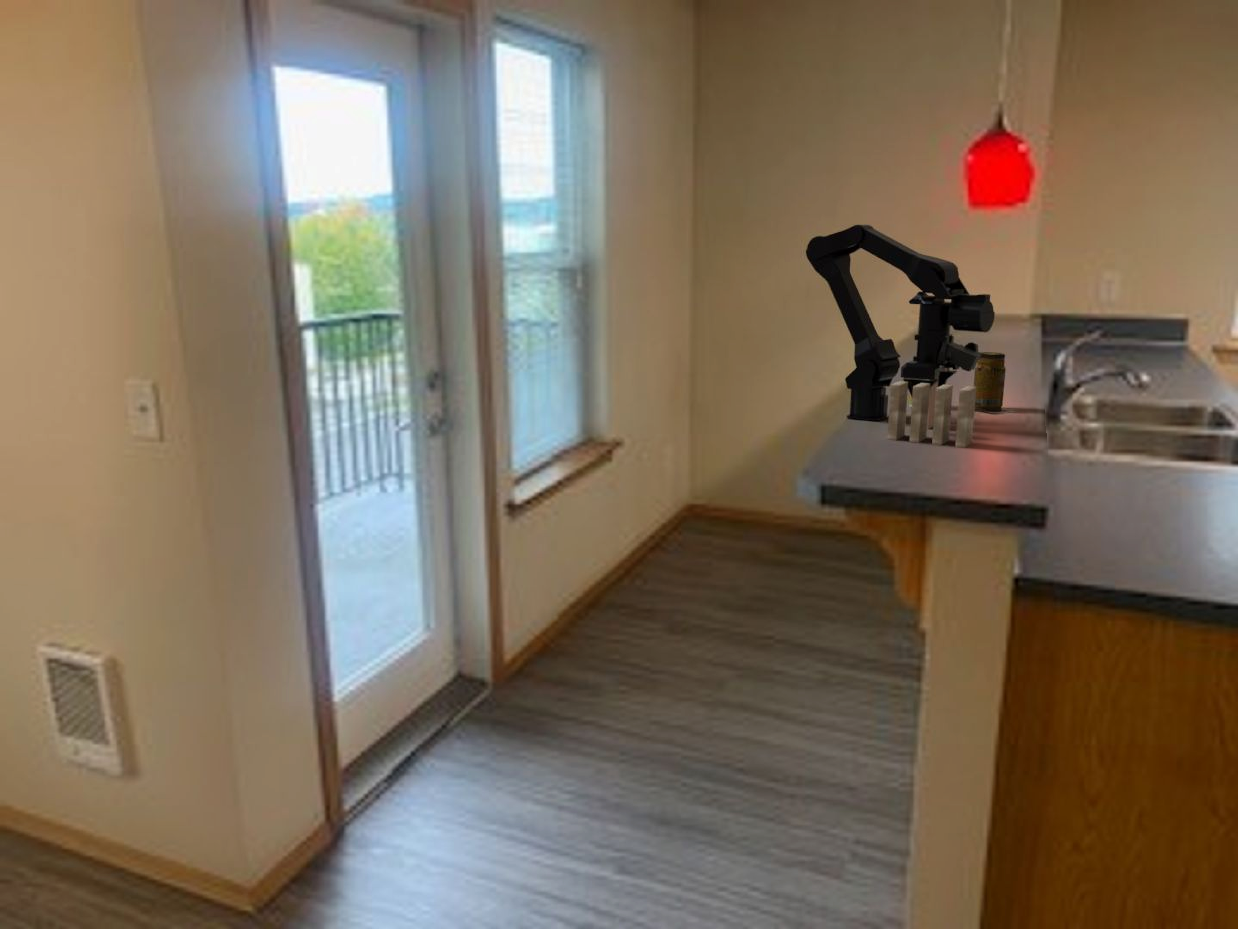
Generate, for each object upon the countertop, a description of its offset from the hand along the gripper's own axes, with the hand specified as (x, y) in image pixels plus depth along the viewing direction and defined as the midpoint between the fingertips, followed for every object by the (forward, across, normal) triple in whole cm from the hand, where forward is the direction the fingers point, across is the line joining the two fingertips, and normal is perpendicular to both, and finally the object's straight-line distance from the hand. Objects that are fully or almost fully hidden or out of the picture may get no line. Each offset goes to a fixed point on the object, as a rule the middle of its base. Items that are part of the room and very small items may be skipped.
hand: (928, 410), depth 178 cm
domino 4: (+3, -13, -6) cm, 15 cm away
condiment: (+3, +25, -6) cm, 26 cm away
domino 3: (+3, 0, 0) cm, 3 cm away
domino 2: (+3, -13, -2) cm, 14 cm away
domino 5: (+3, -13, -10) cm, 17 cm away
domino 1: (+3, -13, +2) cm, 14 cm away
